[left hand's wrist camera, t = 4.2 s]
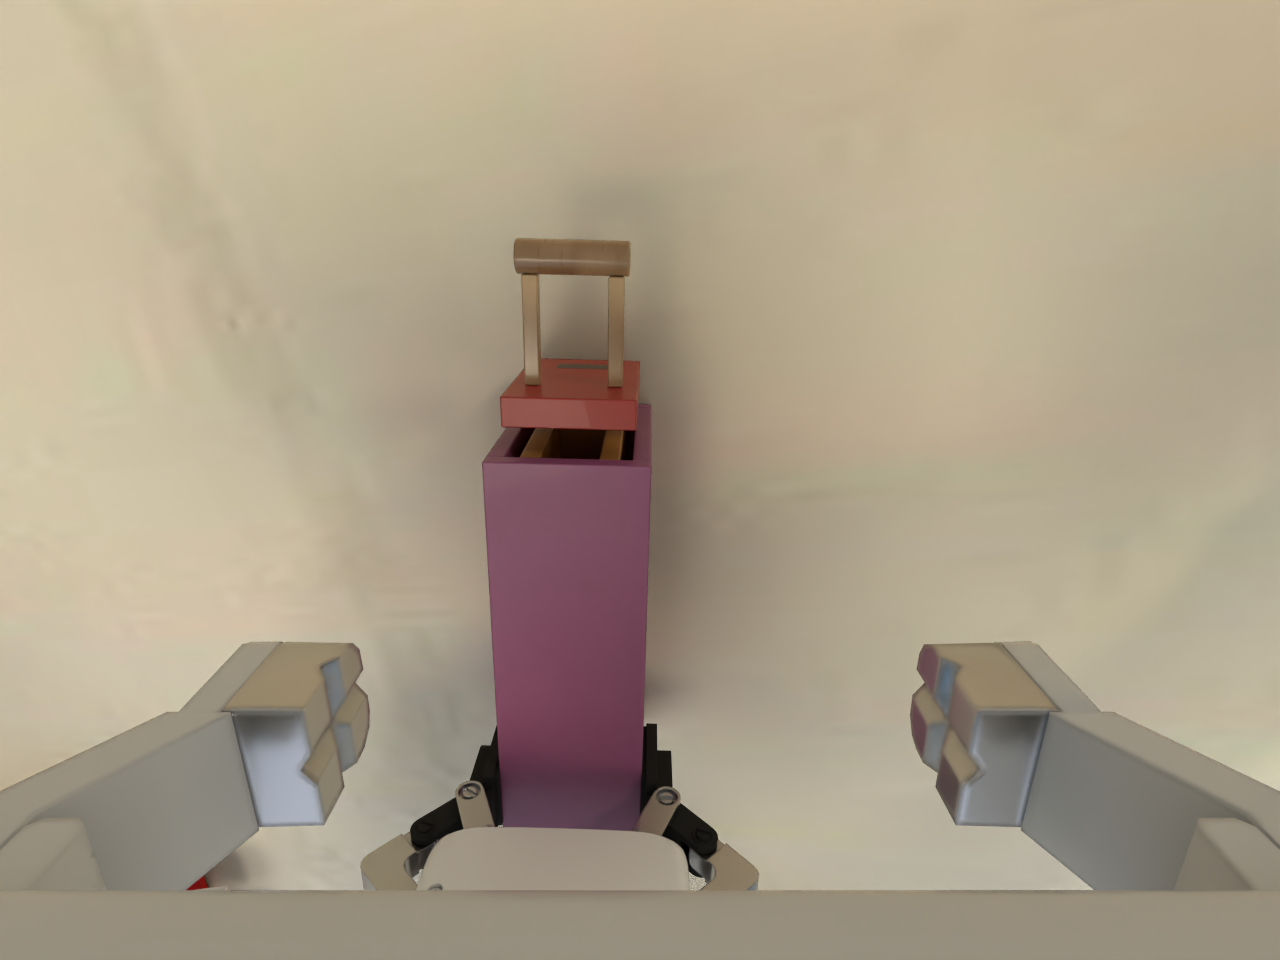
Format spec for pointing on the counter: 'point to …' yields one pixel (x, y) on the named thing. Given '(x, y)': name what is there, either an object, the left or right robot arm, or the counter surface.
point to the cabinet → (569, 630)
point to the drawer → (573, 361)
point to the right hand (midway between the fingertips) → (578, 746)
